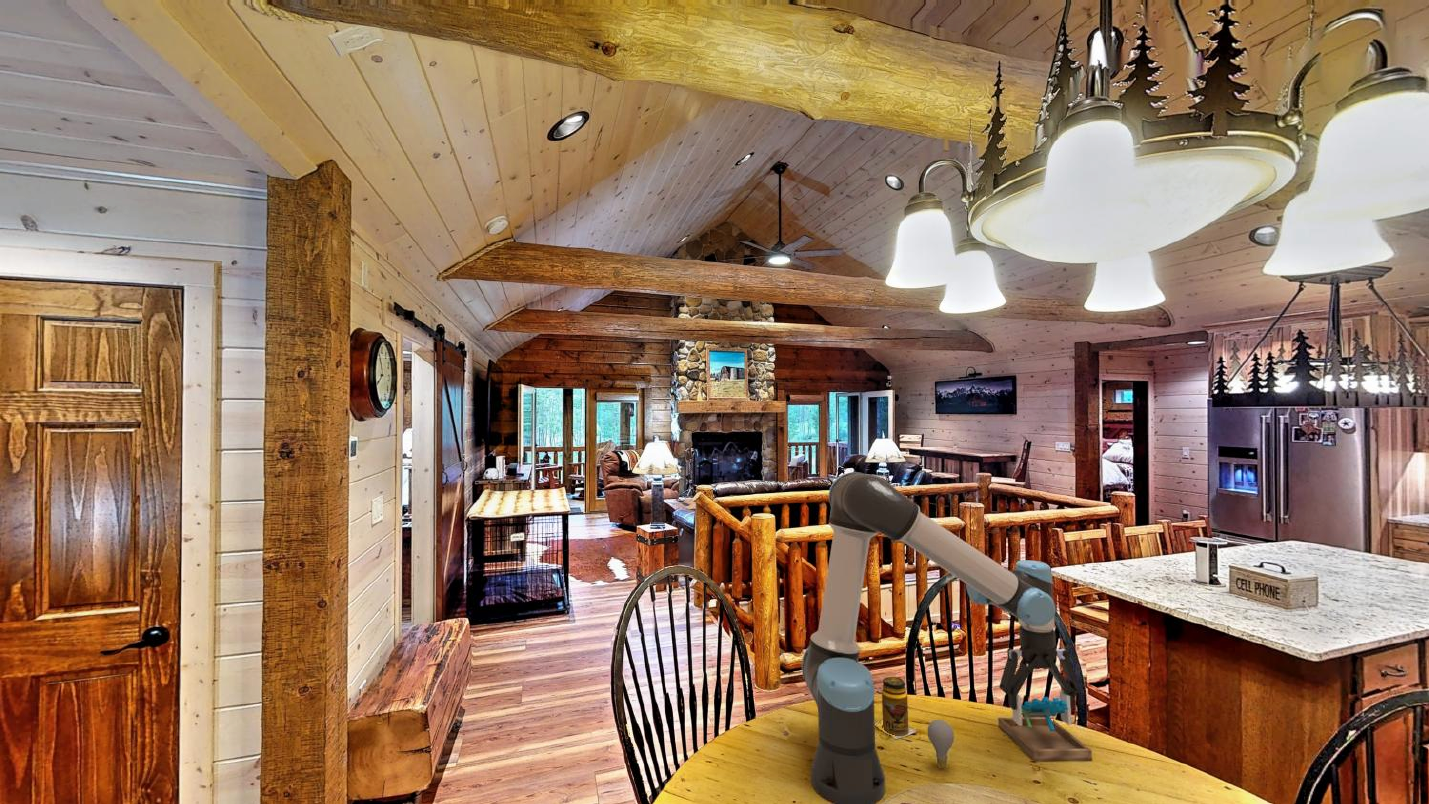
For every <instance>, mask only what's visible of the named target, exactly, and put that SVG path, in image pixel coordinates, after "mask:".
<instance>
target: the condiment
mask: <svg viewBox="0 0 1429 804" xmlns="http://www.w3.org/2000/svg"><path fill="white" fill-rule="evenodd" d="M882 683H883V684H882V690H881V702H882V703H881V705H882V708H881V709H882V720H883V725H882V726H883V727H884V730H885V731H886V732H887V733H889V734H892V735H895V736H897V737H896V738H895V737H893V738H892V739H893V740H898V739H901V738H905V737H907V736H910V735H912V734H914V733H917V732H918V731H917V730H915V729H913V728H911V727H909V711H908V693H907V692H906V683H905V681H904V680H903V679H902V678H900V677H897V676H887V677H885V678H883V680H882ZM876 722H877V723H878V721H876ZM879 723H880V722H879ZM879 723H878V724H879ZM875 724H876V723H875ZM880 724H881V723H880ZM876 725H877V724H876ZM904 735H905V736H904ZM899 736H900V737H899Z"/></svg>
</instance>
